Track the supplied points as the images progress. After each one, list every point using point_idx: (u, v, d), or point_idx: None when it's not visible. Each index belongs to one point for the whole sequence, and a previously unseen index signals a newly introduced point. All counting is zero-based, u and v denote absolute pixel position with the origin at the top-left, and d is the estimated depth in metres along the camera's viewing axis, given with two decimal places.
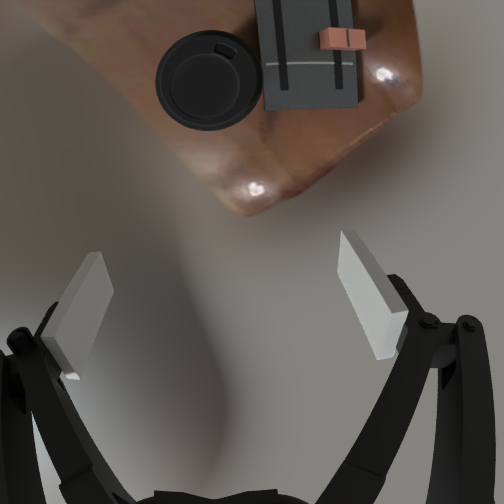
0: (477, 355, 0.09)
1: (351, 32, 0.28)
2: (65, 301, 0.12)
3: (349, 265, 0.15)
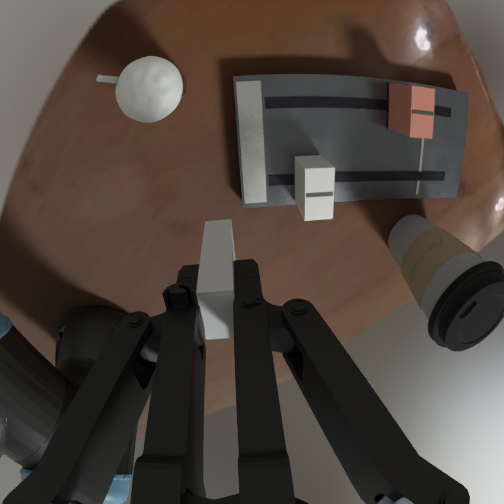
0: (320, 336, 0.10)
1: (416, 106, 0.21)
2: (207, 261, 0.15)
3: None
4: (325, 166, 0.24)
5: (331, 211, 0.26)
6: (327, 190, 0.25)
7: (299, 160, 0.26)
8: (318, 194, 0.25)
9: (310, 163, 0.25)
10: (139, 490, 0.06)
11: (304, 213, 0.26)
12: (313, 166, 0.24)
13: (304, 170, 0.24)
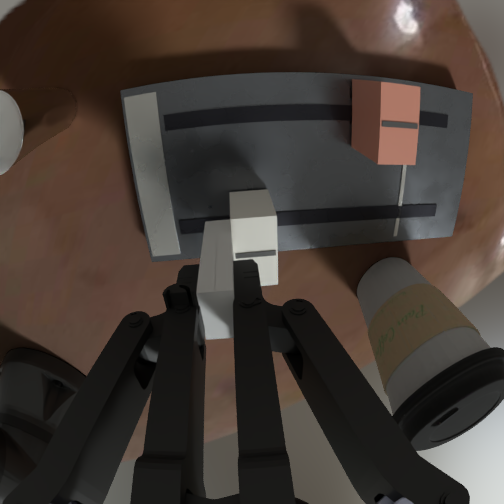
0: (320, 336, 0.10)
1: (388, 115, 0.14)
2: (207, 261, 0.15)
3: None
4: (263, 213, 0.17)
5: (275, 275, 0.18)
6: (267, 248, 0.17)
7: (231, 201, 0.19)
8: (253, 253, 0.18)
9: (244, 207, 0.18)
10: (139, 490, 0.06)
11: None
12: (246, 213, 0.17)
13: None
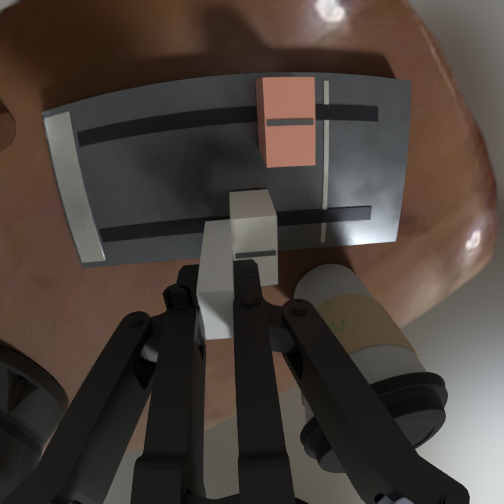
0: (320, 336, 0.10)
1: (274, 113, 0.14)
2: (207, 261, 0.15)
3: None
4: (263, 213, 0.17)
5: (275, 275, 0.18)
6: (267, 248, 0.17)
7: (231, 201, 0.19)
8: (253, 253, 0.18)
9: (244, 207, 0.18)
10: (139, 490, 0.06)
11: None
12: (246, 213, 0.17)
13: None
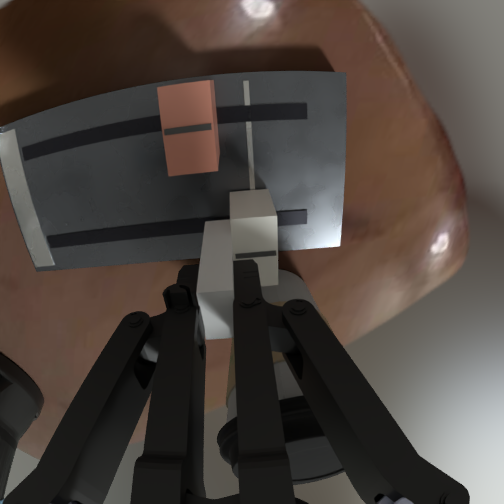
0: (320, 336, 0.10)
1: (171, 121, 0.13)
2: (207, 261, 0.15)
3: None
4: (263, 213, 0.17)
5: (275, 276, 0.18)
6: (267, 248, 0.17)
7: (231, 201, 0.18)
8: (253, 253, 0.17)
9: (244, 207, 0.17)
10: (139, 490, 0.06)
11: None
12: (246, 213, 0.17)
13: None
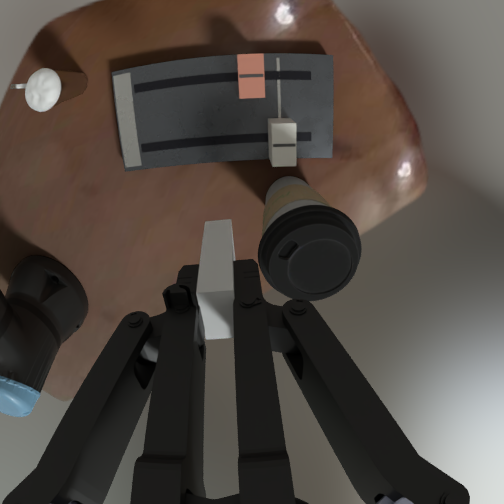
0: (320, 336, 0.10)
1: (243, 71, 0.26)
2: (207, 261, 0.15)
3: None
4: (288, 122, 0.29)
5: (294, 160, 0.31)
6: (290, 141, 0.30)
7: (270, 120, 0.31)
8: (283, 144, 0.30)
9: (277, 121, 0.30)
10: (139, 490, 0.06)
11: (272, 160, 0.31)
12: (279, 122, 0.29)
13: (271, 125, 0.29)
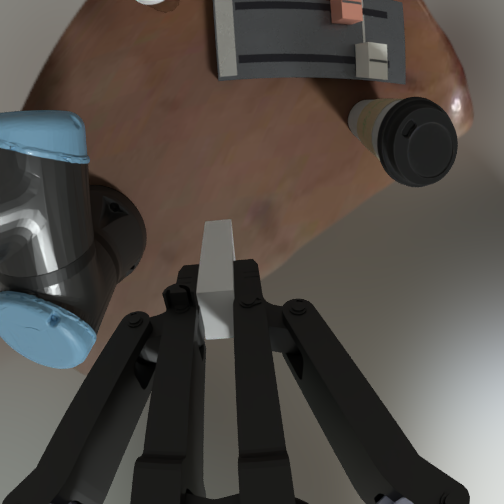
0: (320, 336, 0.10)
1: None
2: (207, 261, 0.15)
3: None
4: None
5: (386, 74, 0.30)
6: (383, 58, 0.29)
7: (360, 43, 0.30)
8: (377, 60, 0.29)
9: None
10: (139, 490, 0.06)
11: (368, 73, 0.30)
12: (372, 43, 0.28)
13: (367, 43, 0.28)
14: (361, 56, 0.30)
